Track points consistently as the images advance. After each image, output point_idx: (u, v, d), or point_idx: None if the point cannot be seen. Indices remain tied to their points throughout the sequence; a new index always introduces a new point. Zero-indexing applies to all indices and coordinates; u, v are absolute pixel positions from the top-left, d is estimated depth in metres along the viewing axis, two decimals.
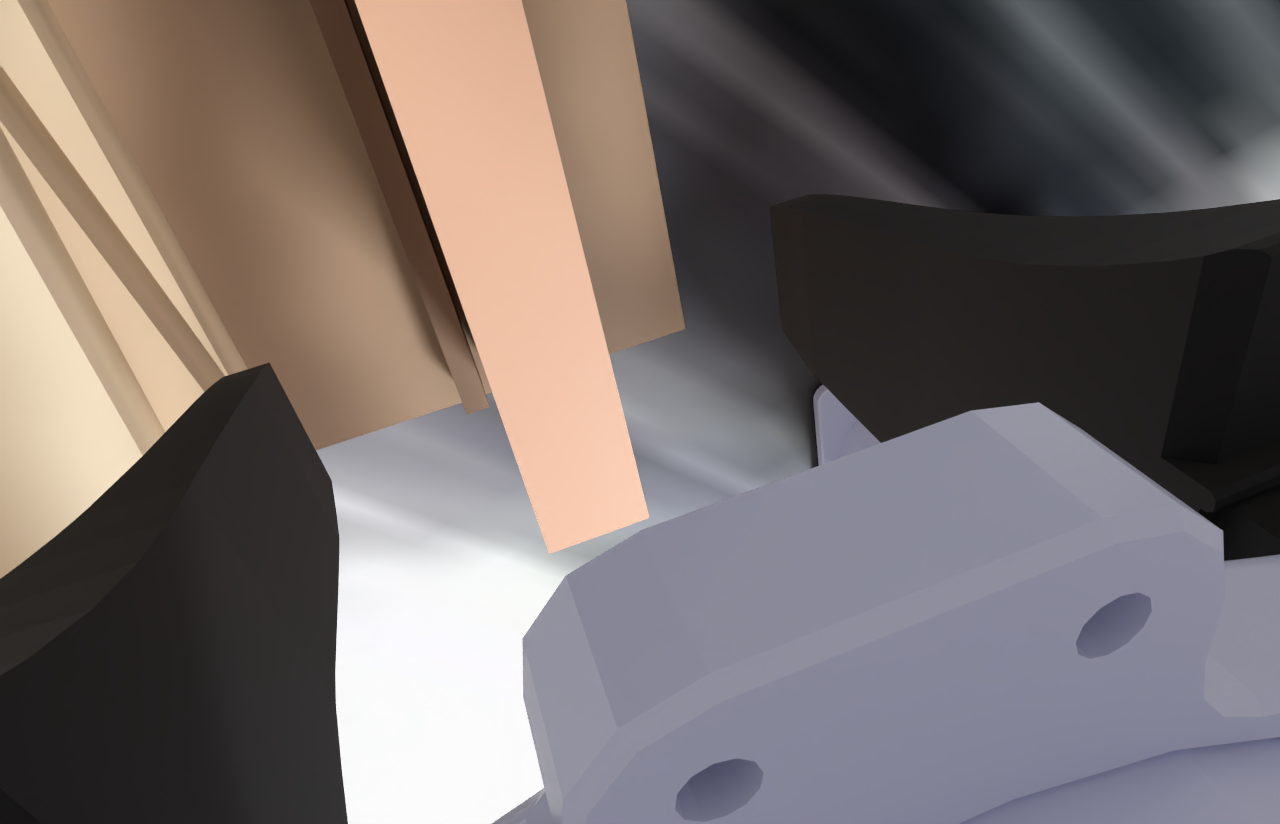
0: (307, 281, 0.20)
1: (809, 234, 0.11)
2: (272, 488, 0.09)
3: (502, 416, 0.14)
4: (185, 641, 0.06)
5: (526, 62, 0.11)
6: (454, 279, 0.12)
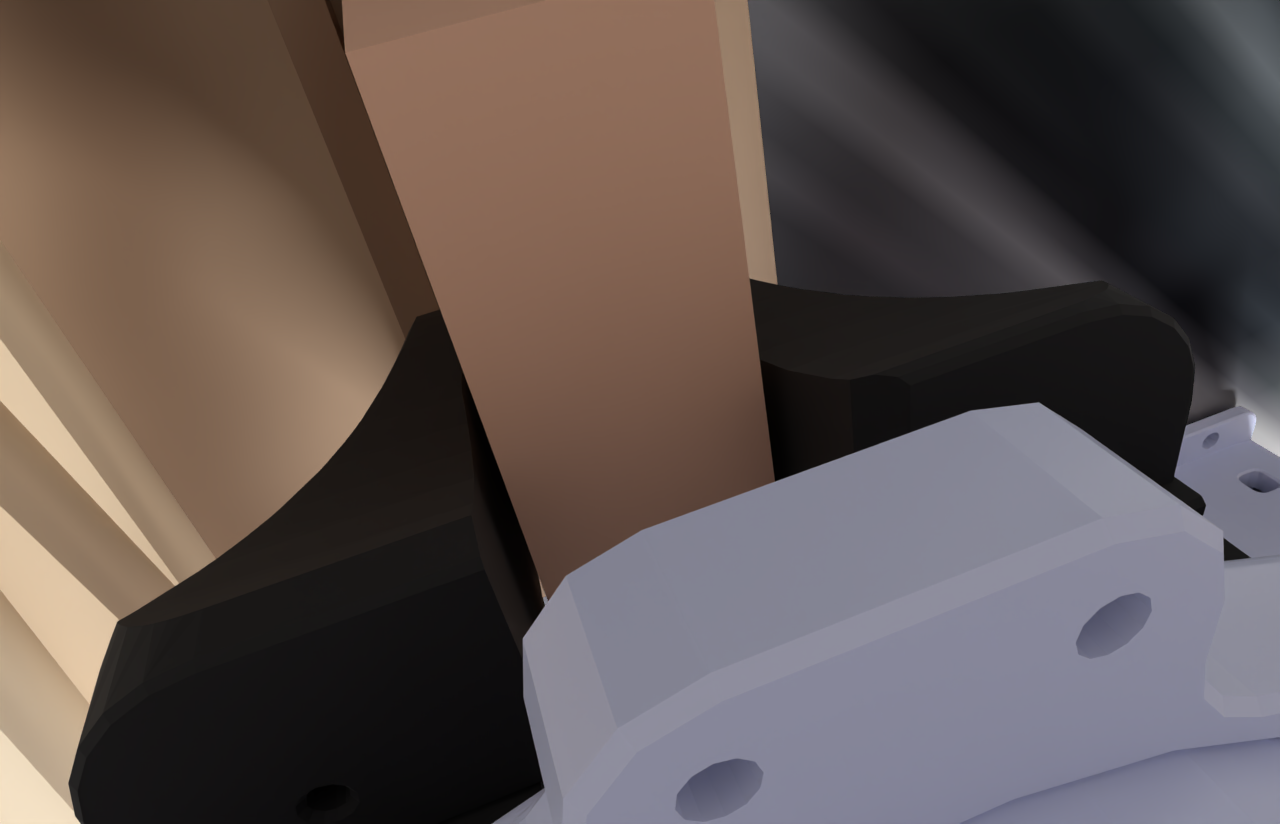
0: (295, 439, 0.14)
1: None
2: None
3: None
4: (500, 529, 0.07)
5: (724, 240, 0.05)
6: None
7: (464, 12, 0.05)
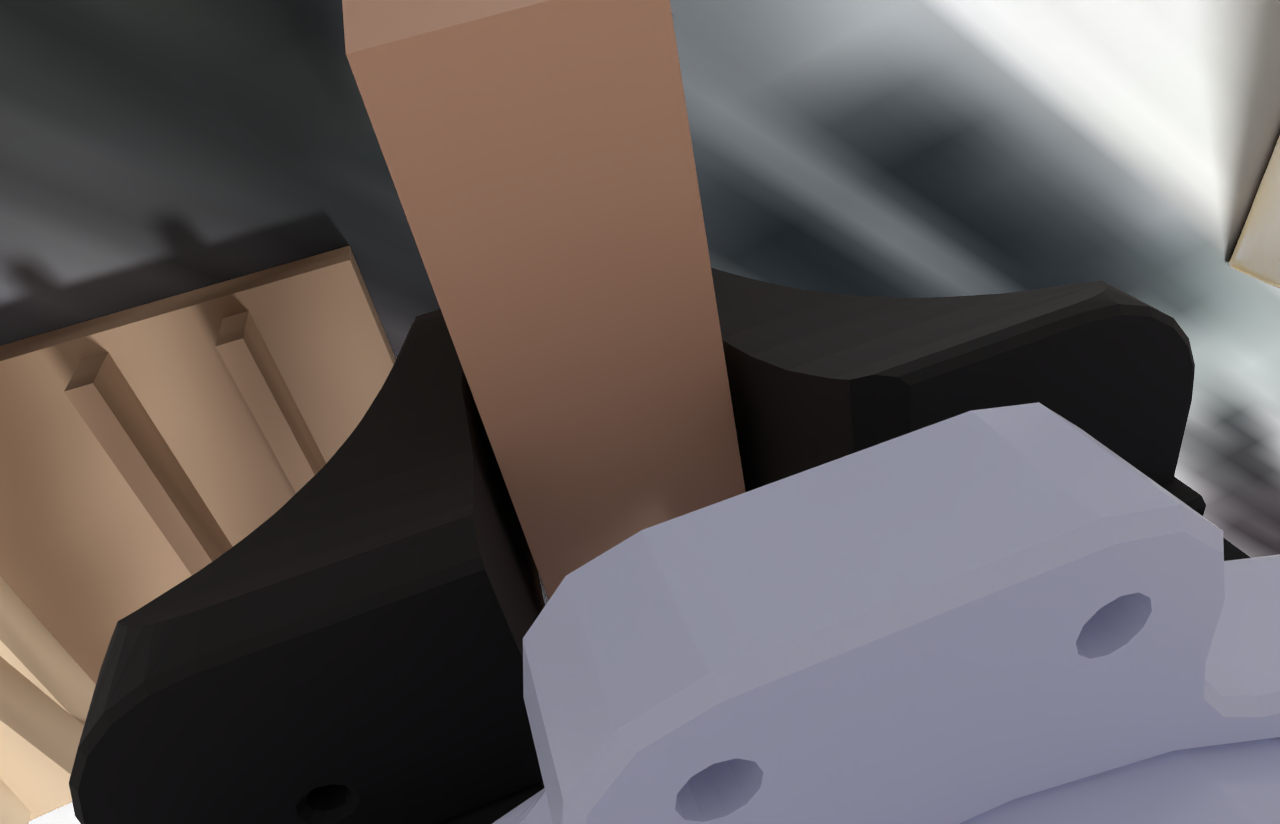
0: (133, 605, 0.23)
1: None
2: None
3: None
4: (500, 529, 0.07)
5: (685, 221, 0.06)
6: (537, 562, 0.07)
7: (450, 16, 0.05)
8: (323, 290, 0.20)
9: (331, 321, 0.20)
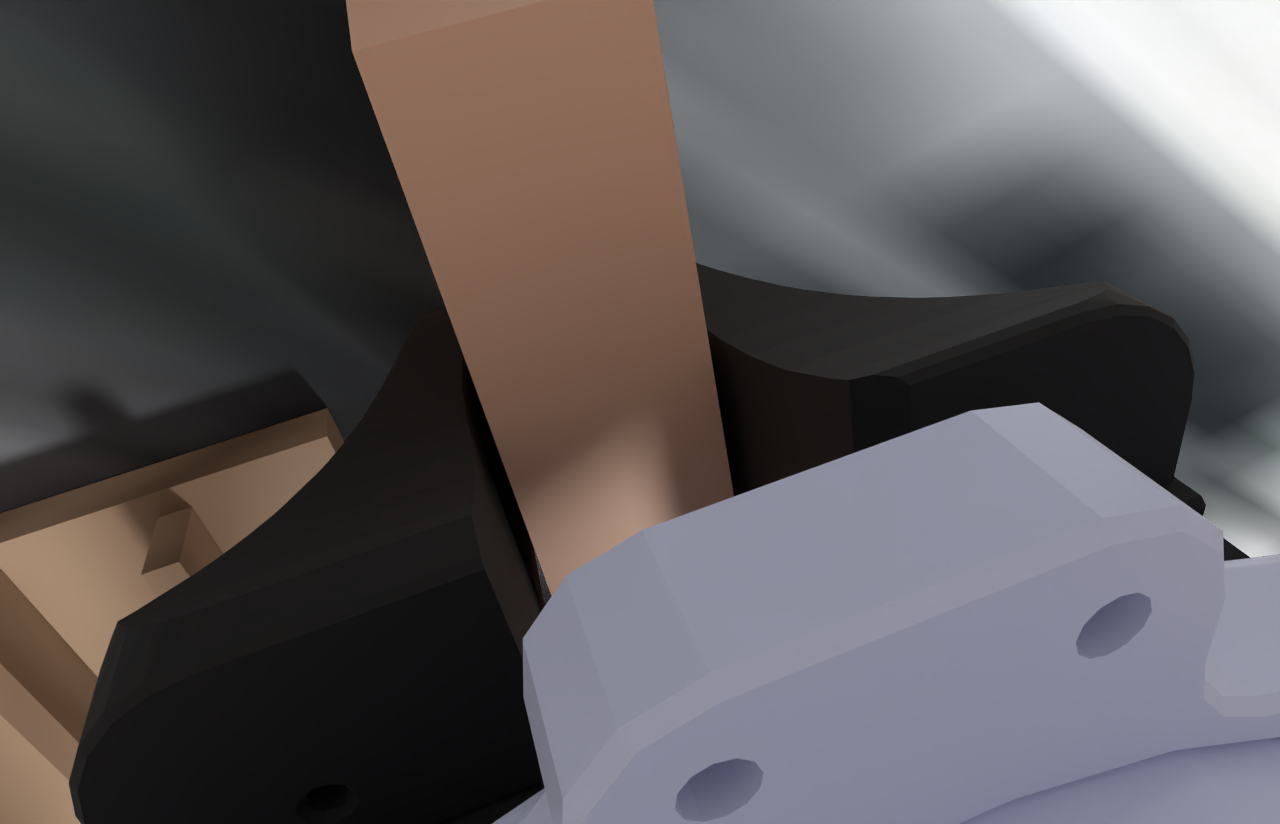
0: None
1: None
2: None
3: None
4: (501, 529, 0.07)
5: (669, 208, 0.06)
6: (531, 533, 0.08)
7: (450, 17, 0.06)
8: (292, 475, 0.15)
9: None
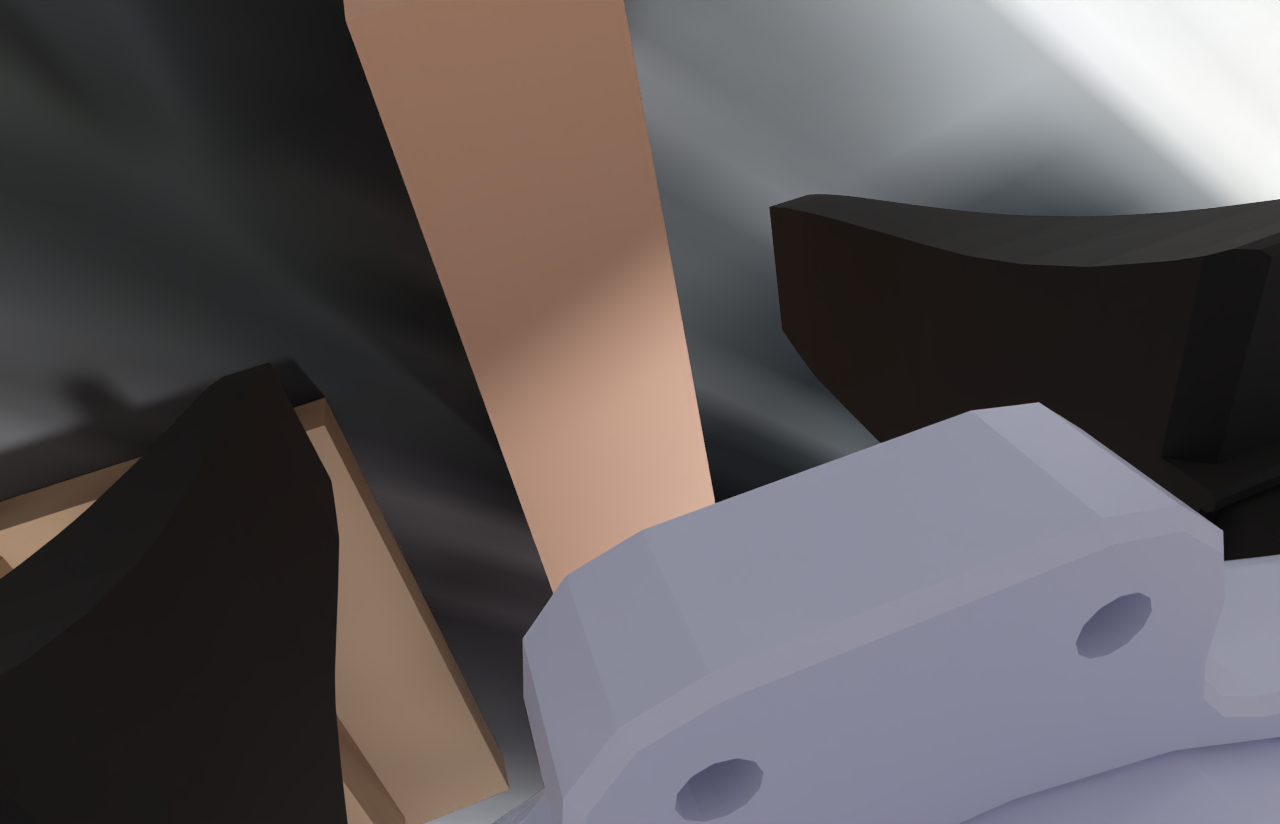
0: None
1: (809, 234, 0.11)
2: (273, 488, 0.09)
3: None
4: (186, 639, 0.06)
5: (638, 170, 0.07)
6: (514, 479, 0.08)
7: None
8: None
9: None
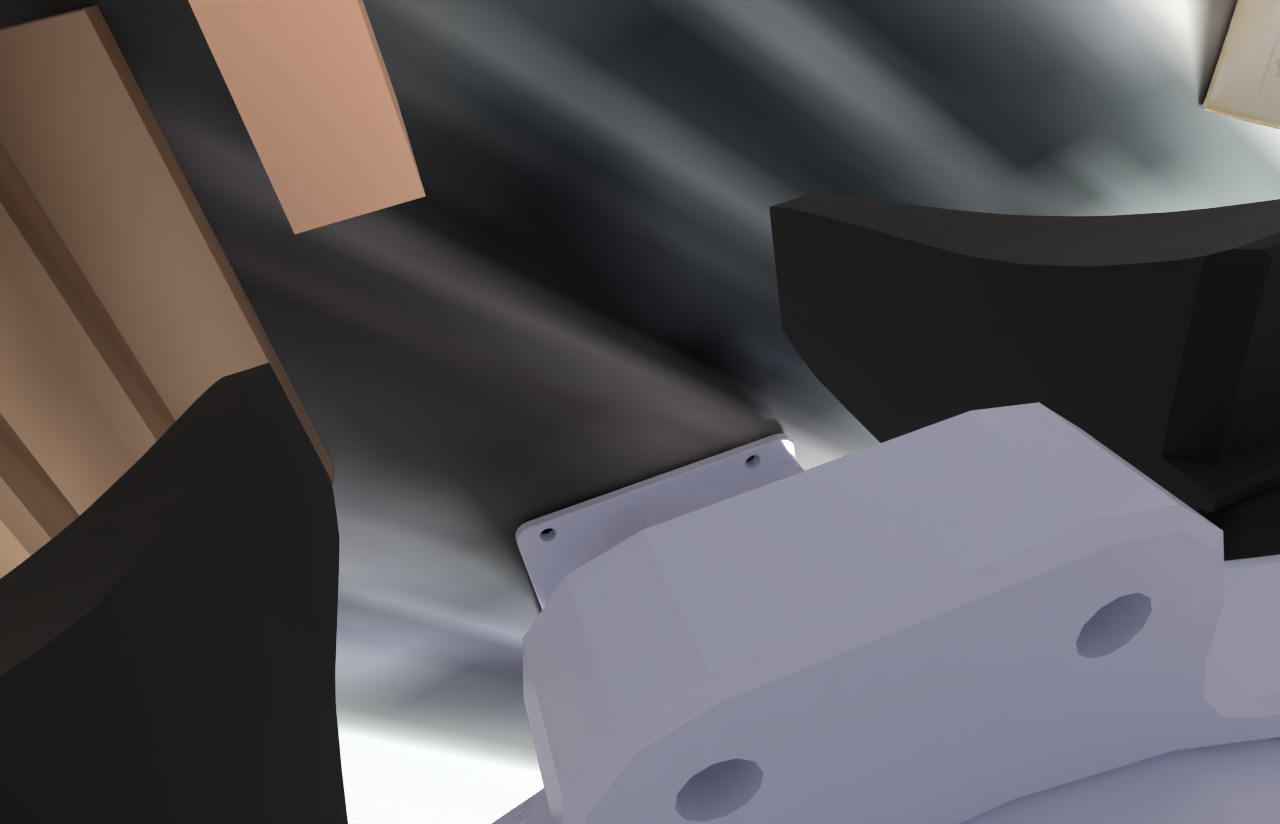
0: None
1: (809, 234, 0.11)
2: (273, 487, 0.09)
3: (191, 1, 0.11)
4: (185, 641, 0.06)
5: None
6: None
7: None
8: (55, 51, 0.16)
9: (72, 95, 0.16)
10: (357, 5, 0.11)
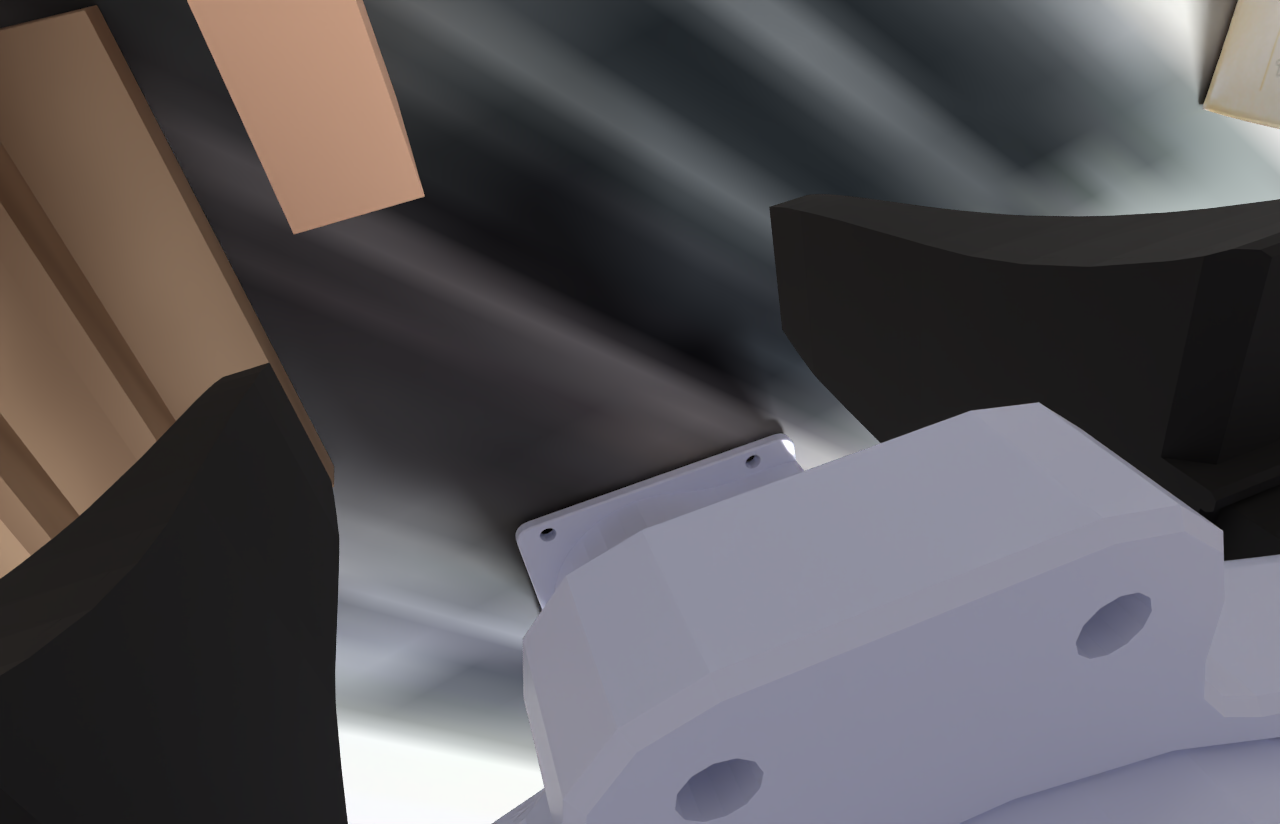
0: None
1: (809, 234, 0.11)
2: (273, 487, 0.09)
3: (190, 1, 0.11)
4: (185, 641, 0.06)
5: None
6: None
7: None
8: (55, 51, 0.16)
9: (72, 95, 0.16)
10: (356, 5, 0.11)
